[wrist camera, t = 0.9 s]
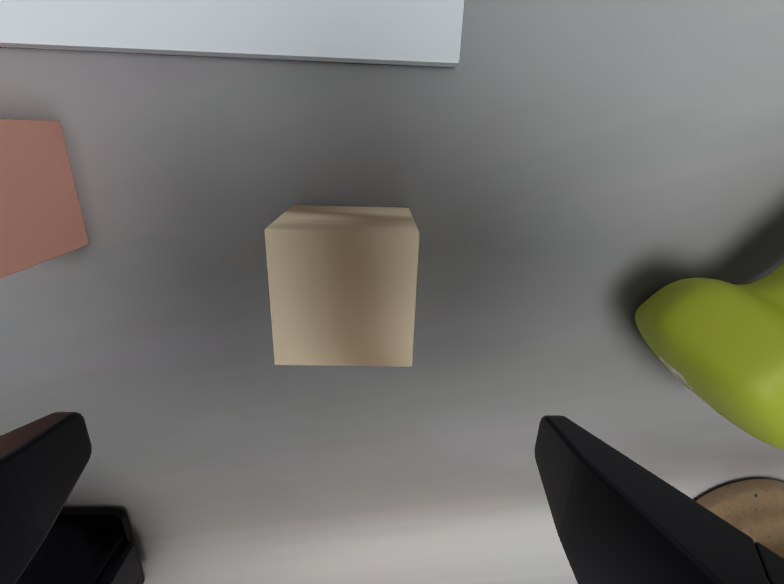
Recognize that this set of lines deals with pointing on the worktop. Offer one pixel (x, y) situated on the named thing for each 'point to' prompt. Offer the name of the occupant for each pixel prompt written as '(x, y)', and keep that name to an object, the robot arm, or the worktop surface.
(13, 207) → the coral block
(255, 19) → the blueprint board
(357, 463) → the worktop surface
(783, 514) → the candle holder
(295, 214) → the maple block
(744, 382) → the dumbbell
